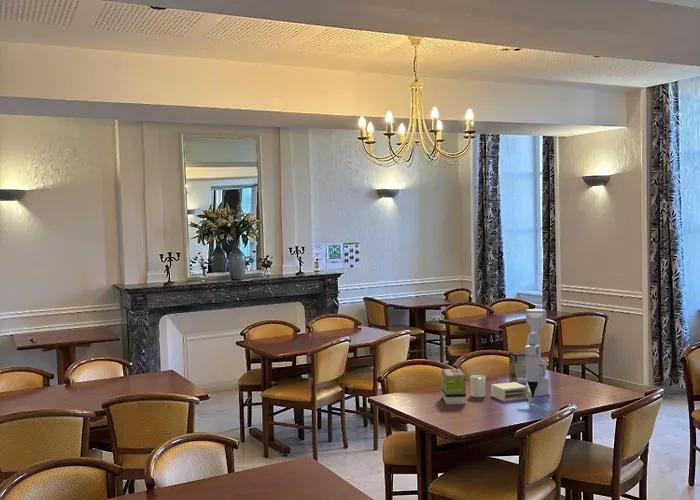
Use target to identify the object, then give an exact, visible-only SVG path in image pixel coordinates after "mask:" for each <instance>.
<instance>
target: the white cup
mask: <svg viewBox="0 0 700 500" xmlns="http://www.w3.org/2000/svg"><path fill="white" fill-rule="evenodd" d="M486 380H487V379H486V375H483V374H472V375H470V376H469V381H470V383H469V384H470V391H471V397H474V398H484V397H485V395H486V394H485V393H486Z"/></svg>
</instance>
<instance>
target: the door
mask: <svg viewBox="0 0 700 500" xmlns="http://www.w3.org/2000/svg"><path fill="white" fill-rule="evenodd" d="M527 387H528V399H527V400H528V405H529V407H531V406H532V402H534V398H532V395H531V392H530V388H529V386H527Z"/></svg>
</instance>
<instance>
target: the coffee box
mask: <svg viewBox="0 0 700 500" xmlns="http://www.w3.org/2000/svg"><path fill="white" fill-rule="evenodd" d="M517 378H526V356H525V353H523V352H520V351H511V352H509V381H510V382H516V383H517ZM523 383H524V384H528V382H520V383H519V384H521V385H524V384H523Z"/></svg>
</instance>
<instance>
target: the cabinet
mask: <svg viewBox="0 0 700 500" xmlns="http://www.w3.org/2000/svg"><path fill="white" fill-rule="evenodd" d="M528 387H529V386H527V385H524V384H519V383H516V382H512V381H510V382H500V383H491V385H490V389H491V391H490V396H491V397H493V398H495V399H498V400H500V401H502V402H509V401H519V400H528Z"/></svg>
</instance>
